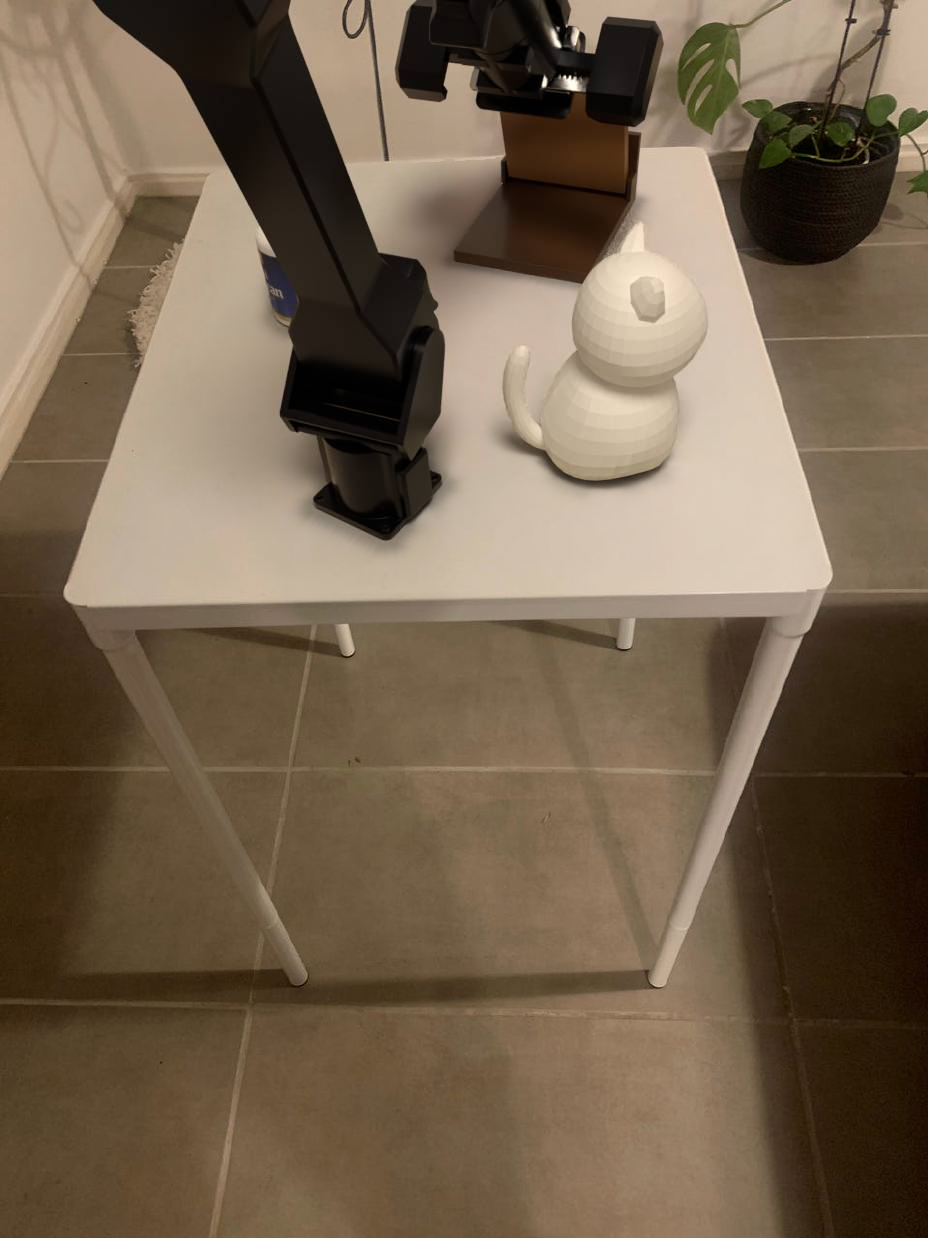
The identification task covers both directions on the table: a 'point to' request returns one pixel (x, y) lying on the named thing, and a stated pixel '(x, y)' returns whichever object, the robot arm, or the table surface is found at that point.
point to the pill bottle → (276, 281)
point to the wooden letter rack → (567, 149)
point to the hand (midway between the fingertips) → (550, 110)
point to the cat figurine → (616, 367)
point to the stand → (548, 225)
